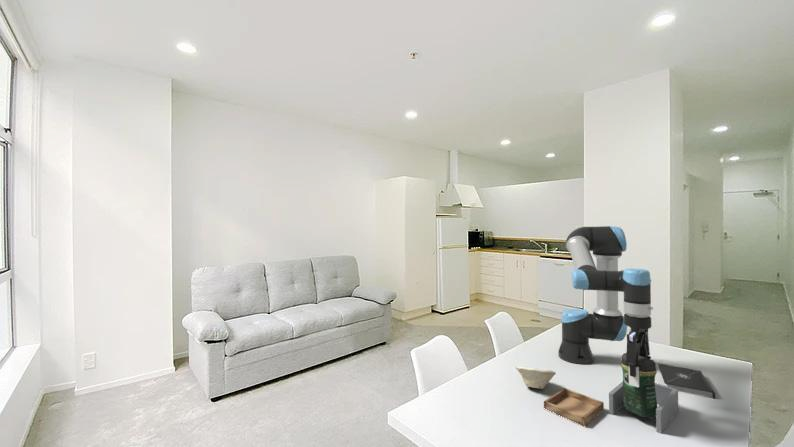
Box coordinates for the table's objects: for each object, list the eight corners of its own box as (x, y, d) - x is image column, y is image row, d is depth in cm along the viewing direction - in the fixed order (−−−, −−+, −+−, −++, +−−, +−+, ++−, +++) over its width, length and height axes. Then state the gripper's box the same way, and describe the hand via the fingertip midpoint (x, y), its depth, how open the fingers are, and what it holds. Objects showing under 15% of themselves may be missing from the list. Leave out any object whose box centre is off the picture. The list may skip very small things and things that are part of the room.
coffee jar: (663, 416, 108) (661, 359, 108) (644, 420, 106) (642, 362, 106) (635, 401, 117) (633, 349, 118) (617, 405, 115) (616, 351, 116)
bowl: (555, 383, 136) (555, 359, 136) (556, 399, 124) (555, 372, 124) (517, 376, 143) (517, 353, 143) (514, 391, 130) (513, 366, 130)
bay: (609, 413, 114) (608, 392, 114) (630, 393, 127) (630, 375, 127) (661, 433, 103) (660, 410, 103) (678, 409, 116) (678, 389, 116)
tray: (543, 409, 117) (543, 401, 117) (564, 394, 127) (564, 387, 127) (584, 426, 106) (584, 418, 106) (603, 410, 116) (603, 402, 116)
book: (715, 400, 123) (715, 392, 123) (664, 390, 131) (664, 382, 131) (701, 377, 141) (701, 370, 141) (657, 370, 149) (657, 363, 149)
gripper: (640, 322, 103) (641, 395, 102) (660, 311, 116) (661, 376, 116) (613, 317, 108) (614, 386, 108) (634, 307, 122) (636, 369, 122)
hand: (638, 381), depth 112 cm, fingers closed on coffee jar, 9 cm apart
